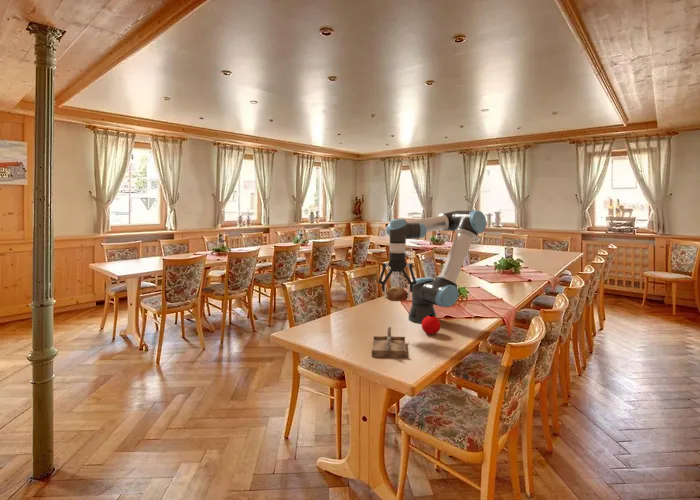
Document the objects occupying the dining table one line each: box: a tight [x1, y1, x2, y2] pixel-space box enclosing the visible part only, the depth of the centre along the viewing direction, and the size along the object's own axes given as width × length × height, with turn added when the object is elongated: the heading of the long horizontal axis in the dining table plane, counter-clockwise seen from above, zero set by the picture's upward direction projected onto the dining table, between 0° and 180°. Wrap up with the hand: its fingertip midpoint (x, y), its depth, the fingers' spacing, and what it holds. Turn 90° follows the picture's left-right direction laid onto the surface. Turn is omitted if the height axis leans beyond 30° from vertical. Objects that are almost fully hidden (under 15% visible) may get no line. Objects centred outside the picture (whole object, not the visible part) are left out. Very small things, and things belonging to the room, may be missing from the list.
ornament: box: [421, 314, 442, 336], centre depth 184 cm, size 9×9×10 cm
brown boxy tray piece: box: [371, 326, 407, 358], centre depth 165 cm, size 14×18×8 cm
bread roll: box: [386, 285, 408, 302], centre depth 182 cm, size 10×10×8 cm
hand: (397, 298), depth 182 cm, fingers closed on bread roll, 10 cm apart
